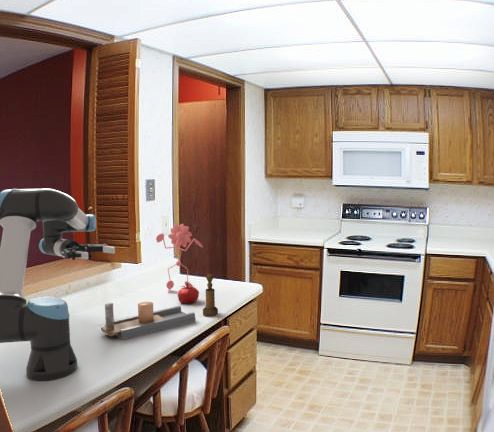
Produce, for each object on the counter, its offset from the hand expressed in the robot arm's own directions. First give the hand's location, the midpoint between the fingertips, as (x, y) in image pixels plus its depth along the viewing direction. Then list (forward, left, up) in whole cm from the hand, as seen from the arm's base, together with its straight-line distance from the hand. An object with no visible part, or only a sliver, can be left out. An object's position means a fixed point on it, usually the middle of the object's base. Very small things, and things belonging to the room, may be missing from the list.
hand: (101, 253), depth 189 cm
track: (+15, -14, -30) cm, 36 cm away
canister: (+12, -14, -27) cm, 33 cm away
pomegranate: (+43, +5, -30) cm, 53 cm away
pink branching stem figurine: (+51, +25, -30) cm, 64 cm away
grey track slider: (+7, -14, -28) cm, 32 cm away
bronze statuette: (+41, -17, -30) cm, 54 cm away
